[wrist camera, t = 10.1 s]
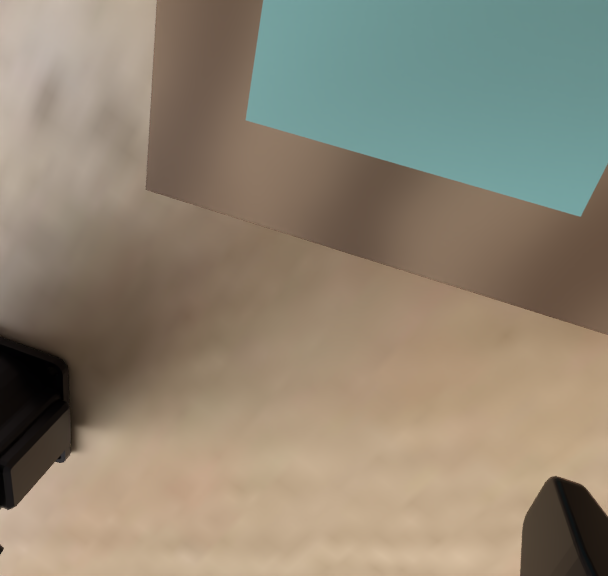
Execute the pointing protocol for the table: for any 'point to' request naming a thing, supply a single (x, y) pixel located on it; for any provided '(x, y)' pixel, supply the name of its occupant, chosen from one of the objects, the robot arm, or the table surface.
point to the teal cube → (446, 88)
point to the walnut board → (353, 182)
